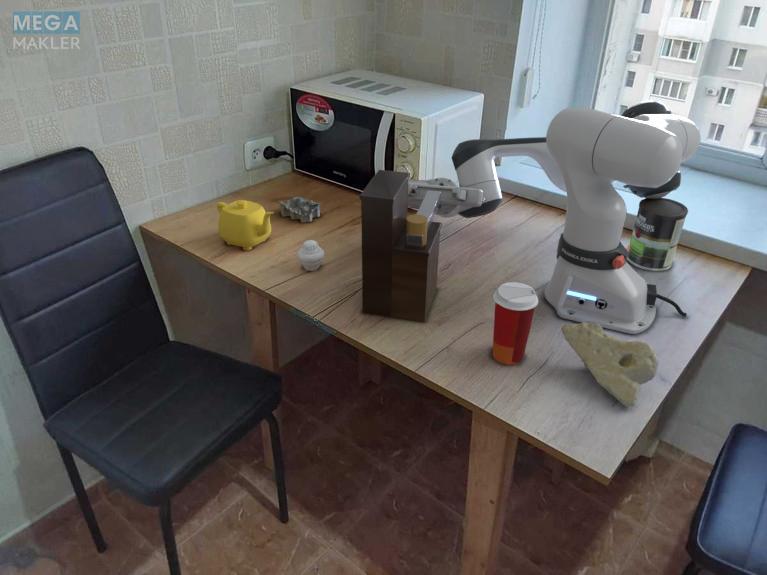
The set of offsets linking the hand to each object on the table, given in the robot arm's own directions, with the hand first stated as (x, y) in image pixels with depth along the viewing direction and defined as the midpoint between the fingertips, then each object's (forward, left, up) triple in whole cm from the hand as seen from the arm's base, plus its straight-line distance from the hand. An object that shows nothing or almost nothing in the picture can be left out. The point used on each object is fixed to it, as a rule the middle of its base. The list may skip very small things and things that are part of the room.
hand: (433, 191), depth 132 cm
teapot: (+43, +16, -19) cm, 50 cm away
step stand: (-2, +16, -19) cm, 25 cm away
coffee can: (-41, -33, -19) cm, 56 cm away
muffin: (+22, +16, -19) cm, 33 cm away
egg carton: (+43, -4, -19) cm, 47 cm away
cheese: (-45, +17, -19) cm, 52 cm away
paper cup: (-29, +20, -19) cm, 40 cm away
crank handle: (-4, +9, -3) cm, 10 cm away
